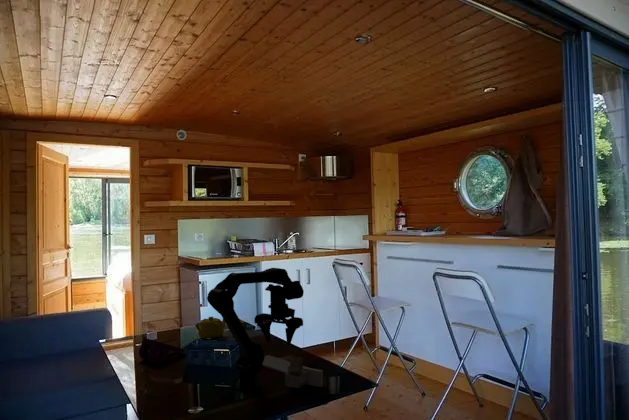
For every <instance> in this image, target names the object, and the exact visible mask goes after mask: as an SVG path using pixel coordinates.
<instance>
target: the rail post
mask: <svg viewBox="0 0 629 420" xmlns="http://www.w3.org/2000/svg"><path fill="white" fill-rule="evenodd" d="M303 360H304V359H303V357H299V356H293V357H291V358H290V359H289V362H290V374H291V375H296V376H299V375H301V374H303V366H304V364H303V362H304V361H303Z"/></svg>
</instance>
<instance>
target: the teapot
mask: <svg viewBox="0 0 629 420" xmlns="http://www.w3.org/2000/svg"><path fill="white" fill-rule="evenodd" d="M194 326H195V329H196V330H197V333H198V336H199V337H200V338H202V339H204V340H207V338H211V339H215V337H220V338H221V337H223V336H224V333H225V326H226V323H225V321H224V319H223V318H222V320H221V318H220V319H219V318H217V317H214V316H208V318H203V319H201V321H200V322H197V323H196V324H195V325H194Z"/></svg>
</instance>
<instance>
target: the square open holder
mask: <svg viewBox="0 0 629 420" xmlns="http://www.w3.org/2000/svg"><path fill="white" fill-rule="evenodd" d="M307 383H308V372H307V370H303V374H301V375H299V376H296V375H291V374H290V371H289V372H288V373H286V374H284V386H285V387H291V388H295V389H301V388H302V387H304V386H305V385H307Z"/></svg>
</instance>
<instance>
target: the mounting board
mask: <svg viewBox="0 0 629 420" xmlns="http://www.w3.org/2000/svg"><path fill="white" fill-rule="evenodd" d="M307 367H308V366H305V367H303V370H307V372H308V383H307V384H306V385H308V386H313V387H317V388H322V387H324V369H319V368H313V367H312V368H311V367H309V368H307ZM289 371H290V365H288V372H289Z"/></svg>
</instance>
